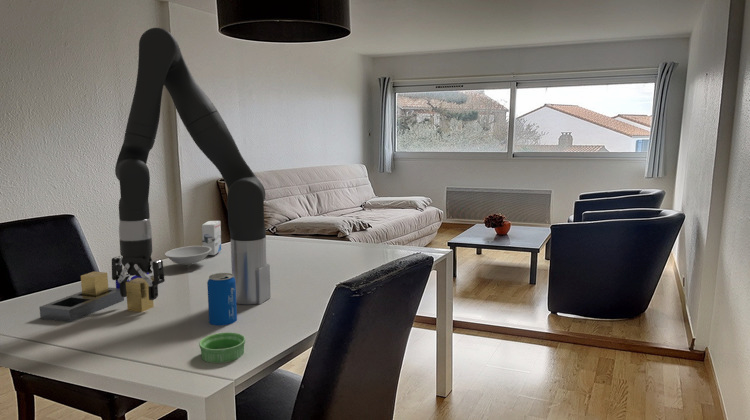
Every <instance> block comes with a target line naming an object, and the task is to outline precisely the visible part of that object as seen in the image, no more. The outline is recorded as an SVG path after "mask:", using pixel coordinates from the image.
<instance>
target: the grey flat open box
mask: <svg viewBox="0 0 750 420" xmlns="http://www.w3.org/2000/svg"><path fill="white" fill-rule="evenodd" d="M108 289H109V293H106V294H103V295H101V296H98V297H88V296H82V291H80V292H76V293H73V294H71V295H68V296H66V297H63V298H60V299H57V300H54V301H51V302H49V303H46V304H43V305H41V306H40V305H39V315H40V316H39V317H40V318H39V319H40V320H44V319H46V320H47V321H53V320H54V322H65V323H71V322H74V321H77V320H79V319H82V318H84V317H87V316H90V315H92V314H94V313H98V312H99V311H101V310H105V309H106V308H109V307H112V306H114V305H117V304H119V303H122V302H123V301H125V297H122V296H121V294H120V288H116V287H109V286H108ZM46 320H45V321H46Z"/></svg>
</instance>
